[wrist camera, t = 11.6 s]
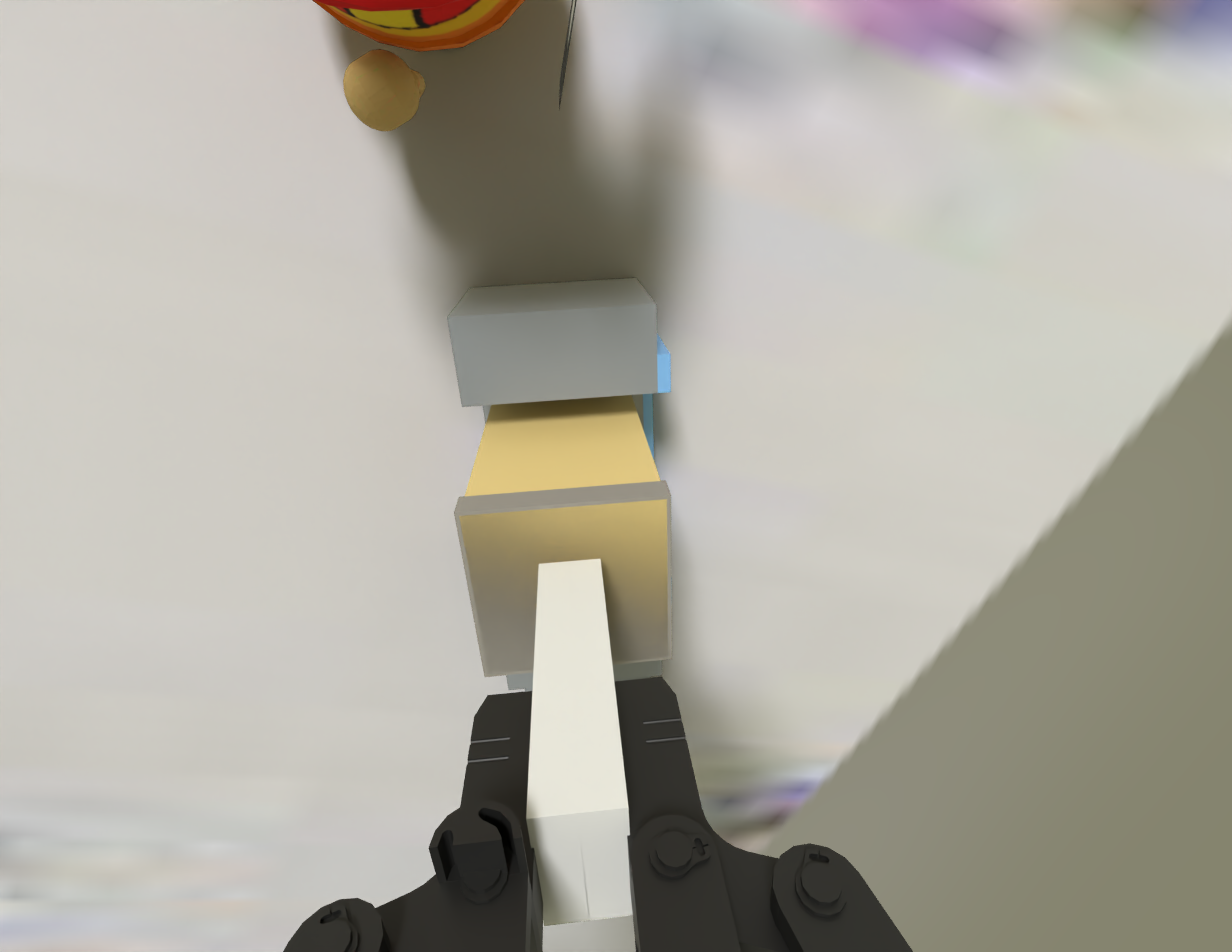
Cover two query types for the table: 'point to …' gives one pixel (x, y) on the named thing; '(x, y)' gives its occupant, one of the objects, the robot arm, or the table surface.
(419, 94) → the toy
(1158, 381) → the table surface
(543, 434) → the tan yellow block
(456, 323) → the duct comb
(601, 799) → the robot arm
